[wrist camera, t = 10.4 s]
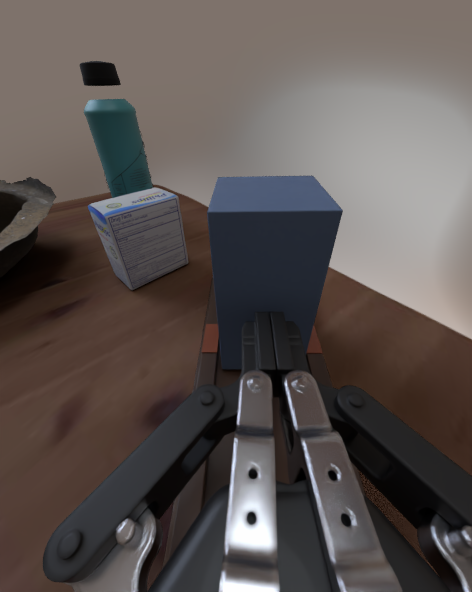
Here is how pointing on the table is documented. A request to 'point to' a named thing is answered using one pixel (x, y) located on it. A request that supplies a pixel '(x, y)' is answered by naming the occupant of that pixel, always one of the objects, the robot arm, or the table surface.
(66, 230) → the table surface
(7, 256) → the stone bowl
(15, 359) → the table surface
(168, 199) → the medicine box
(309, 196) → the block
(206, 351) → the track
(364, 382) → the table surface
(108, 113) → the beverage bottle
